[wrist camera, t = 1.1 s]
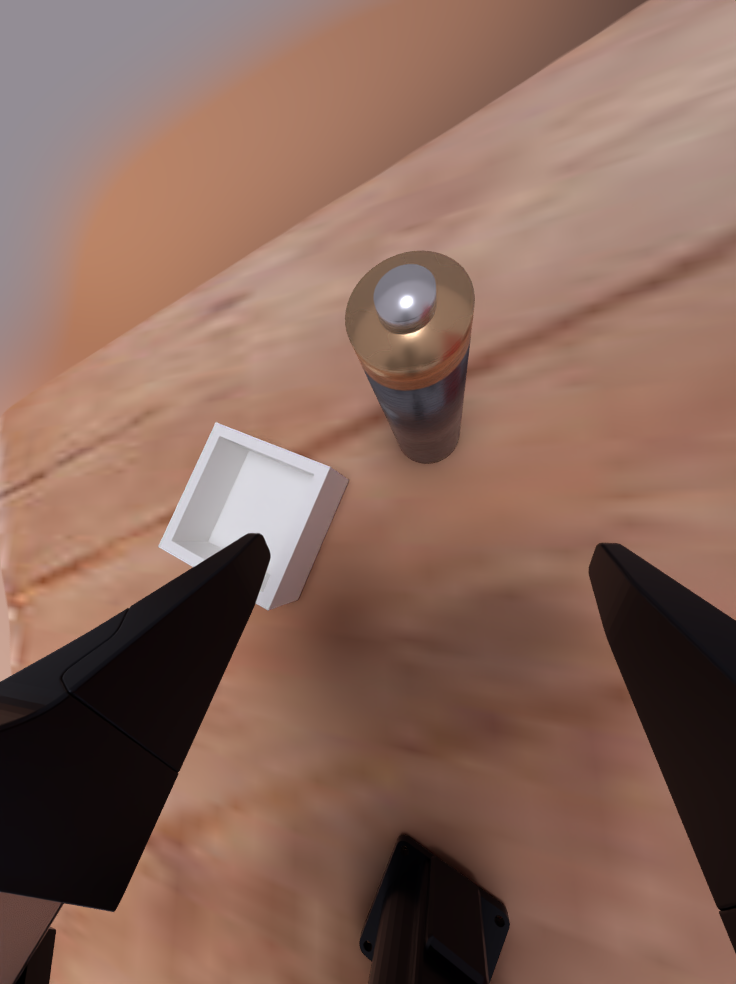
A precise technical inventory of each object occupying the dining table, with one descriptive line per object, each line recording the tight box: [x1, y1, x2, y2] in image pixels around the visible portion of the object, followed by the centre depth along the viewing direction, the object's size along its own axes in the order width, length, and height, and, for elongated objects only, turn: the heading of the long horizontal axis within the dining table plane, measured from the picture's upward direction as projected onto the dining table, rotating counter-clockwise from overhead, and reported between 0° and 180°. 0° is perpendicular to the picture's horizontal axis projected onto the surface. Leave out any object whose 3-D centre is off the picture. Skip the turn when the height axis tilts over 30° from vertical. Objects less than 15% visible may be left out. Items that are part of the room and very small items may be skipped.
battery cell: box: [345, 251, 475, 464], centre depth 16 cm, size 4×4×13 cm
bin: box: [158, 423, 349, 610], centre depth 23 cm, size 10×10×4 cm
